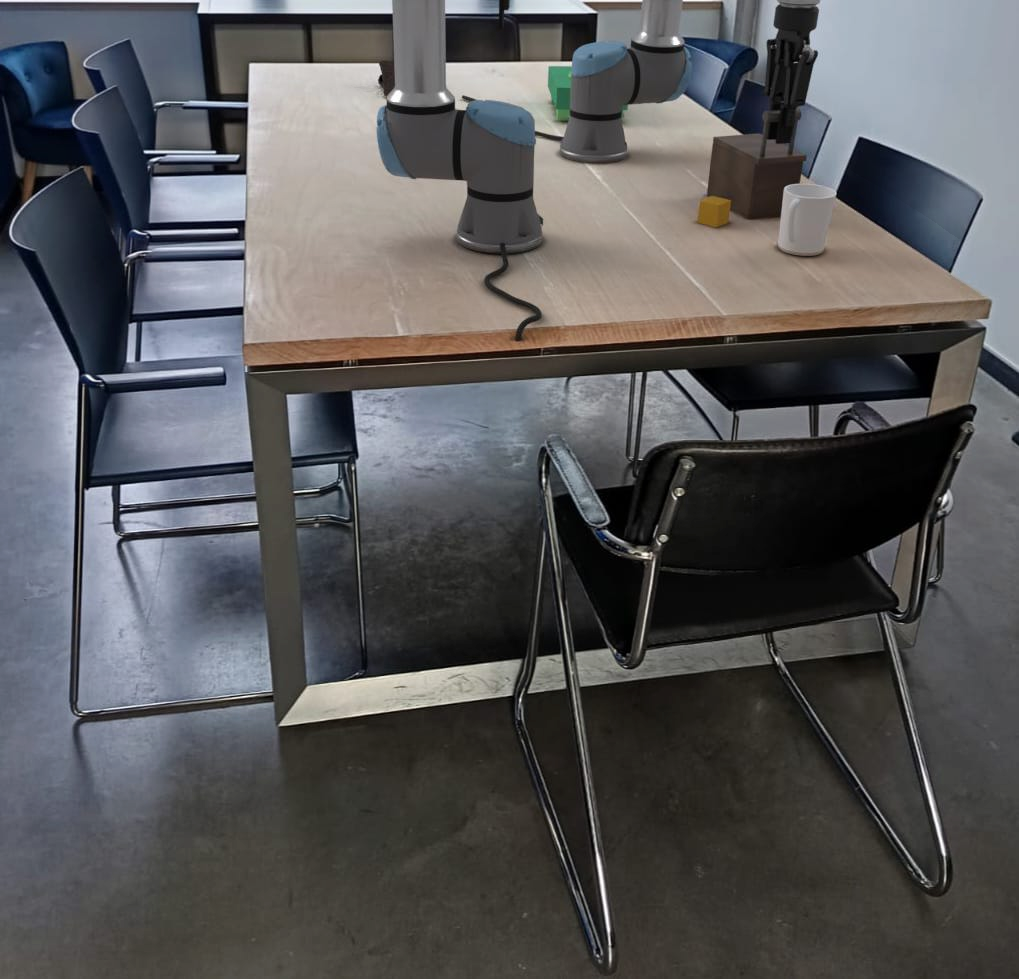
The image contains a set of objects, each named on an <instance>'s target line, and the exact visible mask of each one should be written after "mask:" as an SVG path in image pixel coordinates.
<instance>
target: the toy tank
mask: <svg viewBox="0 0 1019 979" xmlns="http://www.w3.org/2000/svg"><path fill="white" fill-rule="evenodd" d="M571 68H572V65H569V66H568V65H567V66H565V65H548V72H547V88H548V91H549V94H550V100H551V103H553V105H554V108H555V117H556V118H555V119H556V121H558V122H561V121H562V122H563V121H564V122H565V121H566V122H568V121H569V116H570V93H571ZM628 106H629V105H623V107H622V121H624V113H625V111H628Z"/></svg>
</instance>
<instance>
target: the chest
mask: <svg viewBox="0 0 1019 979" xmlns="http://www.w3.org/2000/svg"><path fill="white" fill-rule="evenodd" d="M803 166H804V161H800V162H788V163H777V164H765V165H757V164H755V163H753V162H751V161H749V160H747V159H745V158H743V157H741V156H739V155H737V154H735V153H733V152H731V151H729V150H727V149H725V148H723V147H721V146H719V145H717V144H715V143H713V142H712V147H711V154H710V164H709V170H708V171H709V173H708V181H707V190H706V196H707V197H710V196H715V197H719V198H723V199H727V200H731V206H730V211H733V212H735V213H736V214H738V215H740V216H741V217H742V218H745V219H746V220H753V219H754V220H755V219H763V218H774V217H781V212H782V202H783V192H784V187H786V186H788V185H792V184H801V178H802V172H803Z"/></svg>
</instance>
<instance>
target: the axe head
mask: <svg viewBox="0 0 1019 979" xmlns="http://www.w3.org/2000/svg"><path fill="white" fill-rule="evenodd" d="M378 66H379V68H380V72H381V74H379V75H378V79H377V84H378V85H379V86H380V87H381V88H382V89H383V95H384V96H385V97H387V96H388V94H389V93H390V92H391V91H392V90H393V89H394V87H395V68H394V60H388V59H387V60H380V61H379V62H378Z"/></svg>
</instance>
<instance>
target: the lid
mask: <svg viewBox="0 0 1019 979" xmlns="http://www.w3.org/2000/svg"><path fill="white" fill-rule="evenodd" d="M779 115H780V110H773V111H770V110H765V111H763V113H762V115H761V116H762V121H763V130H762V133H748V134H733V135H721V136H720V135H719V136H713V138H712V144H713V143H715V144H717V145H719V146H721V147H723V148H725V149H727V150H729V151H731V152H733V153H735V154H737V155H739V156H741V157H743V158H745V159H747V160H749V161H751V162H753V163H755V164H757V165H765V164H777V163H788V162H800V161H803V162H806V161H807V158H808V155H807V154H806V153H803V152H801V151H798V150H797V149H794V147H795V141H796V133H797V128H798V123H799V122H798V121H800V120H801V118H802V110H801V109H800V108H796V113H795V119H794V124H793V128H792V134H791V141H790V143H788V145H787V144H776V139H772V140H768V139H767V135H768V128H769V123H770V122H779Z"/></svg>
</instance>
